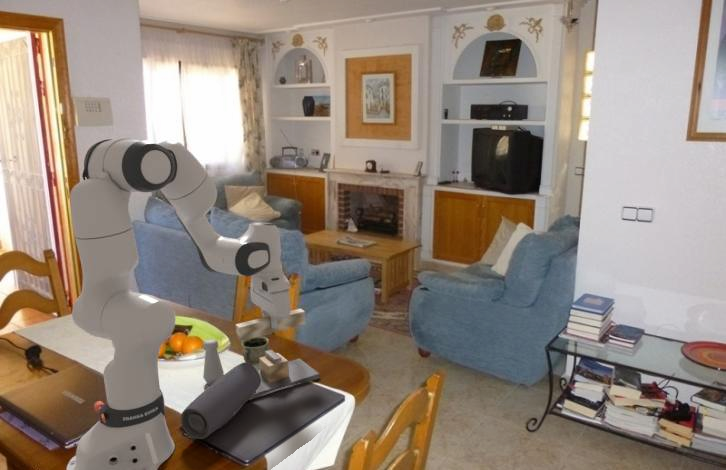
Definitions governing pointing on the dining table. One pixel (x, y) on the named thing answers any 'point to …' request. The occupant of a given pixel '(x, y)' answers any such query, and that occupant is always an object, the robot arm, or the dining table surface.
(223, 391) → the bluetooth speaker
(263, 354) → the vessel
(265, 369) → the ridge stand
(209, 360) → the salt shaker
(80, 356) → the dining table surface
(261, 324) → the birch batten
